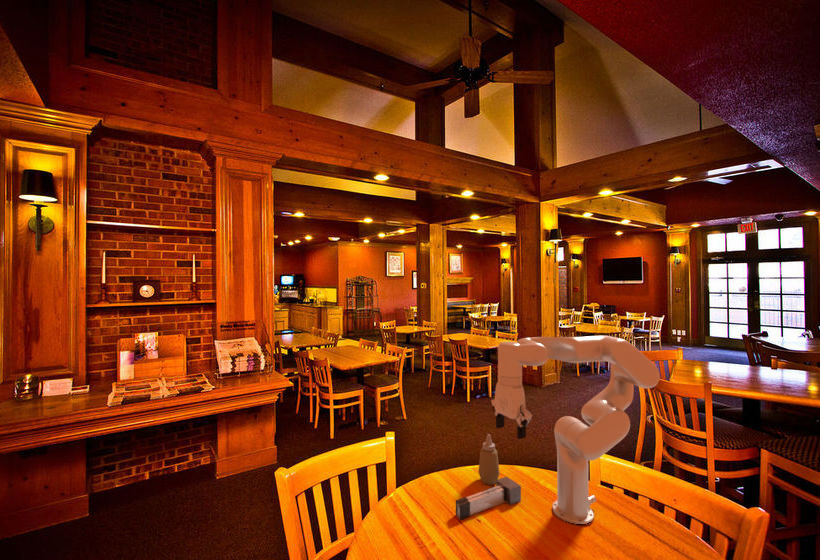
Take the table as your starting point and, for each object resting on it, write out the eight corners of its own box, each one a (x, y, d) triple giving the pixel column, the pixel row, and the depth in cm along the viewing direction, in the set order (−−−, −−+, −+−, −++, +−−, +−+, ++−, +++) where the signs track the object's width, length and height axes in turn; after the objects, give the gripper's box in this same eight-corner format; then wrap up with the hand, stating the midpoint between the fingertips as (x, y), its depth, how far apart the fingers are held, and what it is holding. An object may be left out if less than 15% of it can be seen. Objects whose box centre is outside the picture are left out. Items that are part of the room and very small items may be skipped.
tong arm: (501, 500, 131) (501, 487, 131) (504, 502, 129) (504, 489, 129) (457, 517, 122) (457, 503, 122) (460, 520, 120) (460, 505, 120)
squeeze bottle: (501, 487, 140) (501, 439, 140) (480, 487, 140) (480, 439, 140) (497, 475, 148) (496, 430, 148) (476, 475, 148) (476, 430, 148)
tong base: (506, 491, 137) (506, 476, 137) (520, 501, 131) (520, 485, 131) (452, 512, 125) (452, 495, 125) (465, 523, 119) (465, 506, 119)
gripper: (483, 375, 127) (484, 425, 127) (521, 388, 112) (522, 445, 112) (500, 373, 131) (500, 421, 131) (539, 385, 115) (539, 440, 115)
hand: (510, 432), depth 121 cm, fingers open, 9 cm apart
